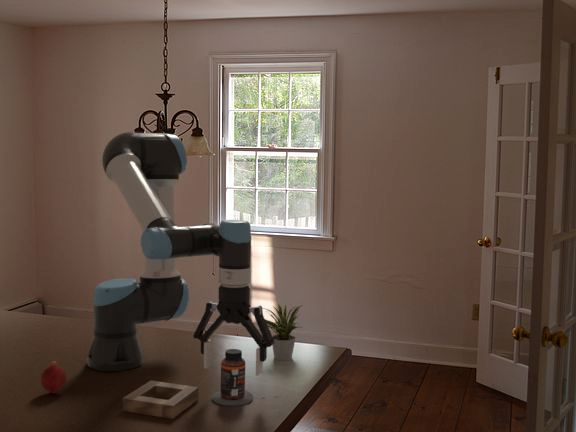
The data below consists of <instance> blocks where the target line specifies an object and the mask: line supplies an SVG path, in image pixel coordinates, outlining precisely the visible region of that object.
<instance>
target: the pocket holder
mask: <svg viewBox="0 0 576 432" xmlns="http://www.w3.org/2000/svg"><path fill="white" fill-rule="evenodd" d="M198 400H199V386H193V385H192V386H191V385H184V384H178V383H170V382H164V381H156V380H149V381H148V382H146V383H145V384H143V385H141V386H139V387H137V389H135V390H133V391H132V392H130V393H129V394H127V395H126V396H124V397H122V411H123V412H127V413H128V412H129V413H134V414H141V415H146V416H147V415H148V416H154V417H159V418H165V419H171V420H174V419H175V418H176V417H178V416H179V415H180V414H181V413H182V412H184V411H185V410H187V409H188V408H189V407H190V406H192V405H193V404H195V402H197V401H198Z"/></svg>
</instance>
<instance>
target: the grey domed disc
mask: <svg viewBox="0 0 576 432" xmlns="http://www.w3.org/2000/svg"><path fill="white" fill-rule="evenodd" d="M253 400H254V395H253V392H252V393H251V392H250V391H248V390H245V394H244V396H243V397H242V398H240V399H235V400H231V399H225V398H223V397H222V396H221V389H219V390H217V391H216V392H214V393H213V394H212V396H211V401H212V402H213V403H215V404H217V405H220V406H225V407H239V406H244V405H248V404H249V403H252V402H253Z"/></svg>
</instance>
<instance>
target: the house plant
mask: <svg viewBox="0 0 576 432" xmlns="http://www.w3.org/2000/svg"><path fill="white" fill-rule="evenodd" d="M276 305H277V306H278V309H277V308H276V307H275V306H272V307H273V308H274V310H275V311H276V312H277V315H278V316H279V317H277V315H276V314H275V313H274V312H273V311H272V310H270V309H268V308H264V307H262V310H267V311H266V313H267V314H269V316H270V317H271V318H272V319H274V322H273V321H272V320H268V319H266V318H265V321H266V323H267V325H268V328H269V329H271V330H272V331H273V332H274V333H275V334H273V335H272V337H273V339H274V342H275V343H274V344H273V345H272V346H271V347H272V352H273V359H275V360H276V361H280V362H281V361H285V362H286V361H290V360H292V358H293V353H294V347H295V343H296V336H294V335H292V332H293V331H294V330H295V329H297V328H302V329H303V326H296V325H297V324H298V325H299V323H298V322H295V320H296V319H297V318H298V317H299V315H297V314H298V312H299V311H300V308H301V307H303V306H304V305H303V304H301V305H299V306H297V305H296V306H294V307H291V309H290V310H289V311H287V305H286V304H285V305H284V308H283V309H282V306H281V305H280V304H279V303H277V304H276ZM293 309H294V310H293ZM287 312H288V314H287ZM291 312H292V313H291ZM288 319H289V320H288Z"/></svg>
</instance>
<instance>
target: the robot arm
mask: <svg viewBox="0 0 576 432" xmlns="http://www.w3.org/2000/svg"><path fill="white" fill-rule="evenodd" d="M101 157H102V158H101V161H102V163H101V164H102V167H103V168H102V169H103V171H104V173H105V175H106V176H107V178H108V180H110V181H111V182H112V183H113V184H115V185H116V186H117V188H118V190H119V192H120V193H121V195H122V197H123V199H124V200H125V202H126V204H127V206H128V207H129V209H130V211H131V213H132V214H133V216H134V218H135V219H136V221H137V223H138V224H139V226H140V228H141V230H142V233H141V237H140V246H141V250H142V254H143V256H144V269H143V270H142V272H141V273H140V274H139V282H138V281H137V280H136V279H135V278H131V277H123V278H113V279H108V280H105V281H103V282H100V283H98V284H97V286H96V287H95V288H94V290H93V300H92V303H93V304H92V305H93V340H92V342H91V345H90V347H89V352H88V354H87V361H86V363H87V367H88V368H90V369H92V370H95V371H99V372H100V371H101V372H120V371H121V372H122V371H127V370H132V369H135V368H138V367H140V366H141V365H143V363H144V353H143V351H142V347H141V345H140V341H139V338H138V335H137V334H138V332H137V330H138V328H137V326H138V325H141V324H147V323H154V322H162V321H165V322H166V321H170V320H174V319H178V318H180V317H182V315H184V314H185V312H186V310H187V308H188V306H189V305H188V304H189V300H190V299H189V297H190V291H189V288H188V283H187V281H186V280H185V279H183V278H181V273H180V271H178V269H177V268H176V259H177V258H187V257H201V256H202V257H203V256H215V257H218V283H219V284H220V285H219V286H218V303H217V302H215V301H214V300H211V301H208V302H206V304H205V311H204V313H203V315H202V317H201V319H200V321H199V324H198V326H197V327H196V330H195V331H194V333H193V339H197V340H199V341H200V354H202V355H203V369H205V370H207V369H209V368H210V367H211V366H212V339H210V337H211V336H212V335H213V334H214V332H216V331H217V329H218V328H219V327H220V326H221V325H222V324H223V323H224V322H225V323H227V324H231V323H233V324H235V325H239V324H241V326H242V327H244V328H245V330H246V331H247V332H248V334H249V335H250V336H251V338H252V339H253V340H254V342H255V343H256V345H257V346H258V347H257V348H256V349H255V352H256V353H255V376H256V377H259V376H260V375H261V374H262V373H264V371H263V368H264V365H263V363H264V362H265V361H266V360H267V357H268V356H267V355H268V354H267V352H268V350H267V348H270V347H273V346H272V345H273V344H274V343H275V342H274V339H273V337H272V336H273V335H272V333H271V330H270V327H268V325H269V324H268V325H267V323H266V321H265V319H266V318H265V317H264V313H263V312H264V311H263V310H264V309H263V307H262V305H258V306H251V305H250V302H251V301H250V300H251V299H250V298H251V286H250V285H249V284H251V256H252V255H251V252H252V250H251V249H252V248H251V247H252V235H251V233H252V232H251V231H252V230H251V229H252V228H251V223H250V222H249V221H248V220H244V219H243V220H241V219H224V220H221V221H220V222H219V224H215V223H211V222H210V223H207V222H206V223H200V224H198V225H182V226H180V225H179V226H177V225H176V223H175V185H176V184H177V183H178V182H179V181H180V177H179V176H180V175H181V174H183V173H184V172H185V171H186V167H187V164H188V163H187V162H188V160H187V159H188V158H187V157H188V155H187V152H186V148H185V145H184V143H183V141H182V140H181V138H180V137H179V136H177V135H175V134H172V133H165V132H164V133H163V132H155V133H154V132H132V131H127V132H122V133H119V134H118V135H116V136H114V137H113V138H112V139H110V140H109V141H108V143H107V144H106V146H105V147H104V150H103V153H102V156H101ZM216 310H217V311H218V313H219V314H220V315H218V317H217V318H216V319H215V320H214V322H213V323H212V324H211V325H210V326H209V328H207V329H206V327H207V325H208V323H209V321H210V319H211V317H212V315H213V314H214V312H216ZM250 313H251V314H252V316H253V317H254V320H255V322H256V324H257V326H258V328H257V326H256V325H255V324H254V322H253V321H252V318H251V317H250ZM205 329H206V331H205ZM258 329H259V330H258ZM204 331H205V332H204Z"/></svg>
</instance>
